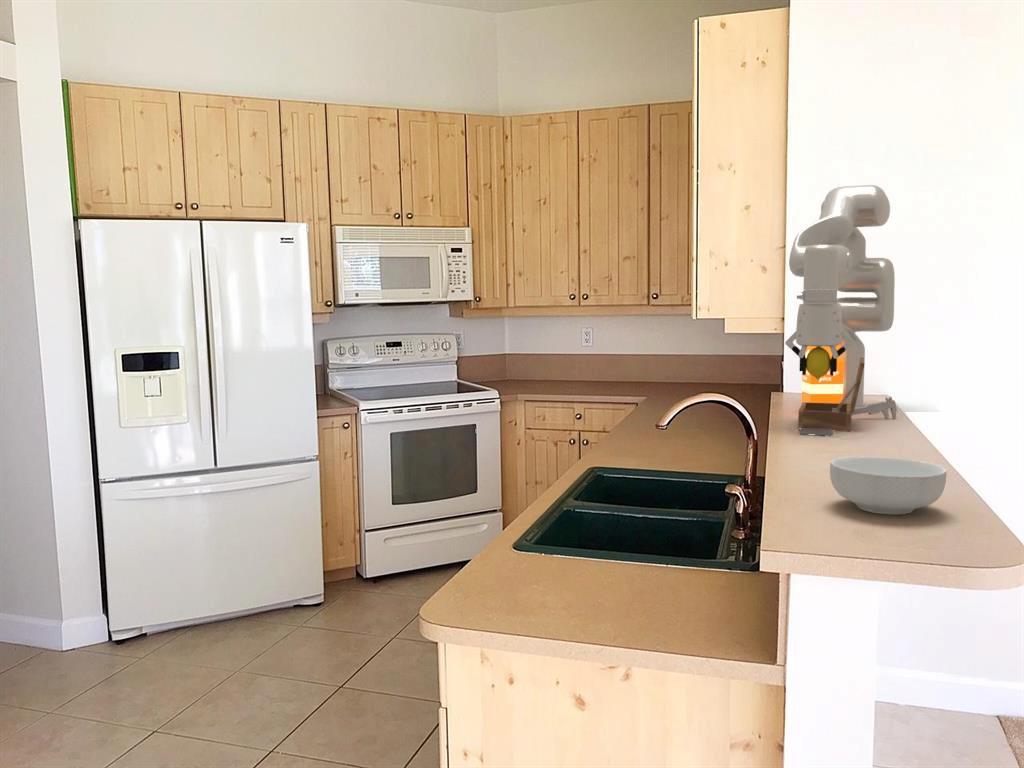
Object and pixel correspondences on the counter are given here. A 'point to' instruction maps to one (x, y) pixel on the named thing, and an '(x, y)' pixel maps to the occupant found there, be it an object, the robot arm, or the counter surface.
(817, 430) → the coaster
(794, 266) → the robot arm
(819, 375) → the lemon
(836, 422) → the case
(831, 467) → the cereal bowl
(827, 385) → the orange juice
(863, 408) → the caliper
